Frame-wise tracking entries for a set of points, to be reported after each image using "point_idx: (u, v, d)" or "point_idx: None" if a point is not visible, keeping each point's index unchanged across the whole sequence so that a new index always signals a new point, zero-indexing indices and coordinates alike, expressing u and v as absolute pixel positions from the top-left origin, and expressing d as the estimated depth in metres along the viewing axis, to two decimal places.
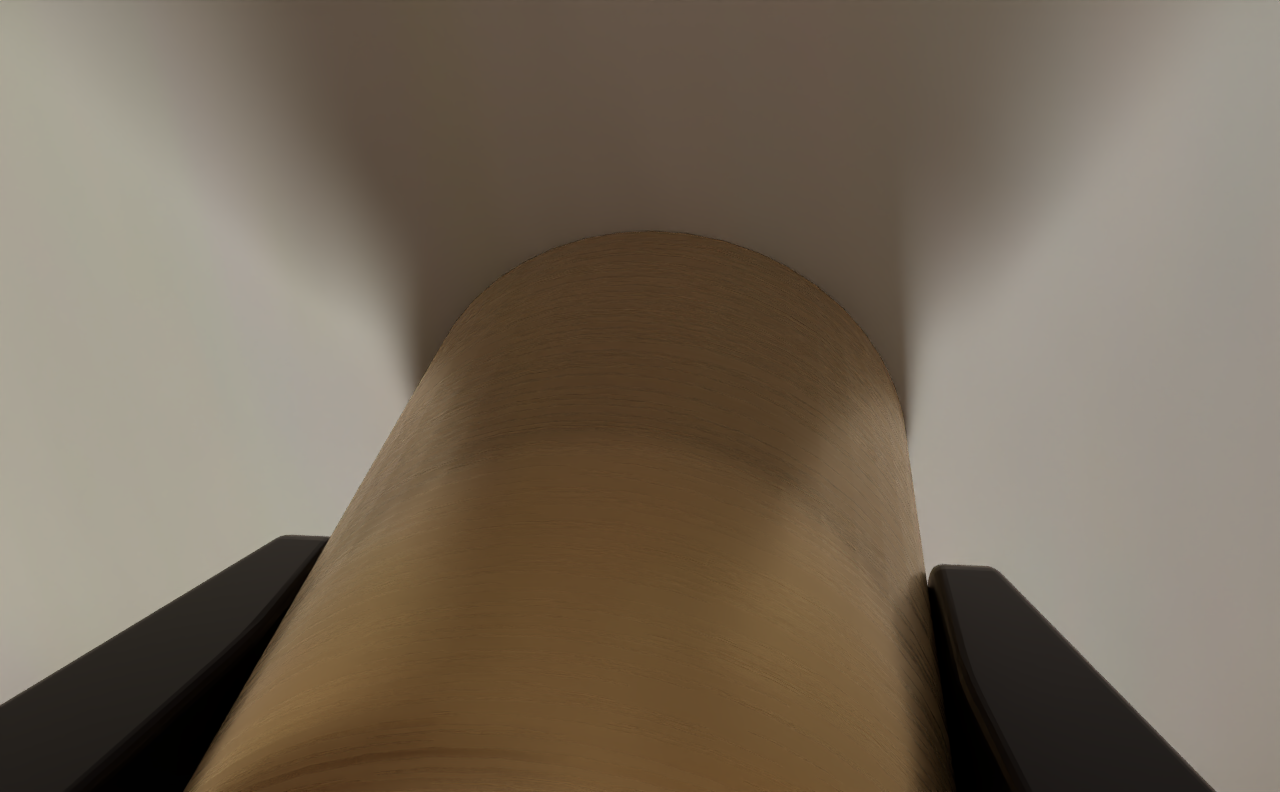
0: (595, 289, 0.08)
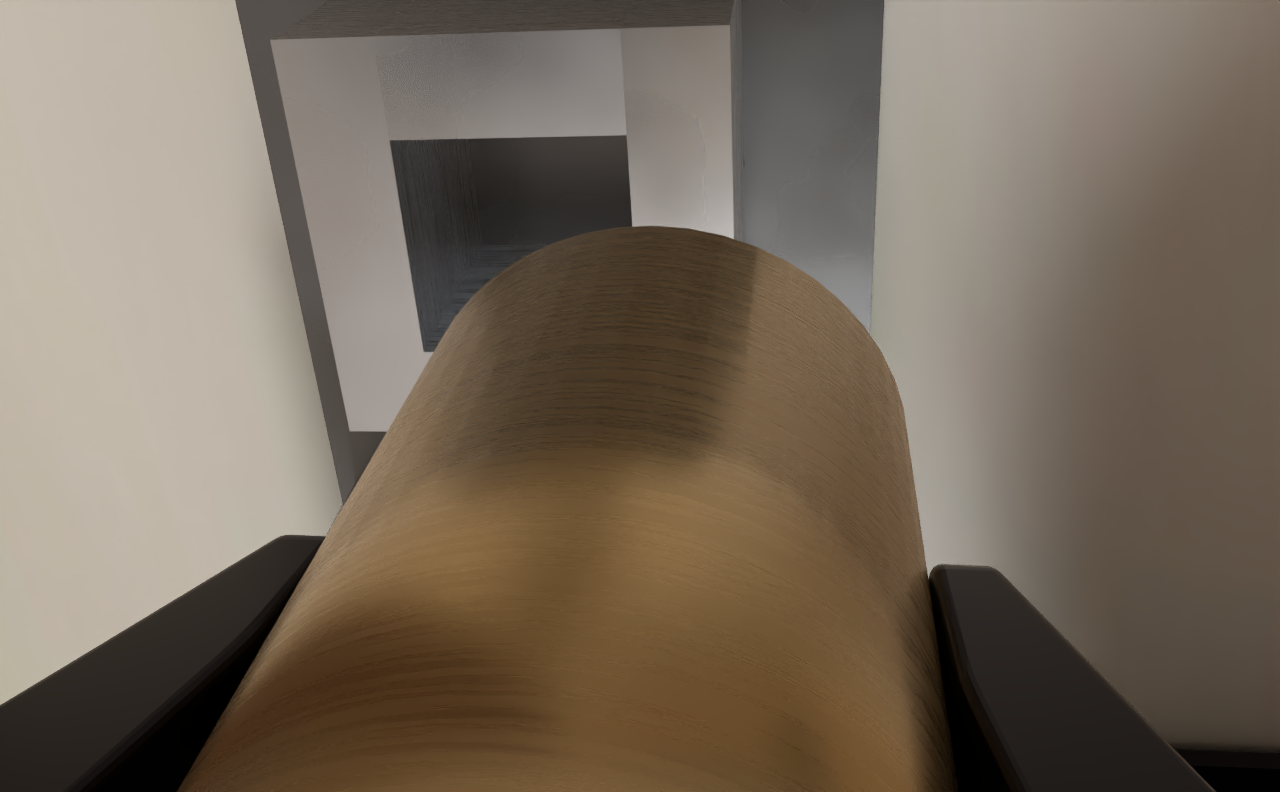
0: (593, 284, 0.08)
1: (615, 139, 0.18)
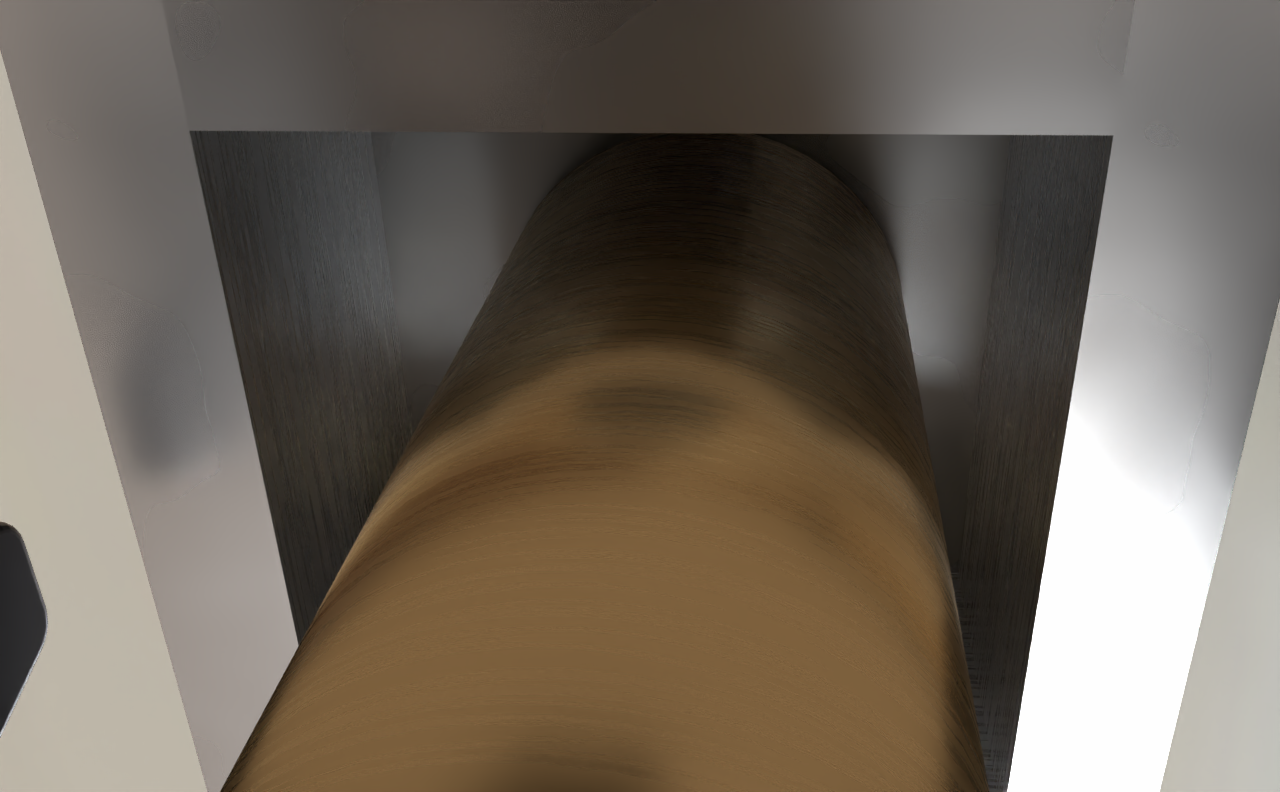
0: (658, 165, 0.11)
1: None
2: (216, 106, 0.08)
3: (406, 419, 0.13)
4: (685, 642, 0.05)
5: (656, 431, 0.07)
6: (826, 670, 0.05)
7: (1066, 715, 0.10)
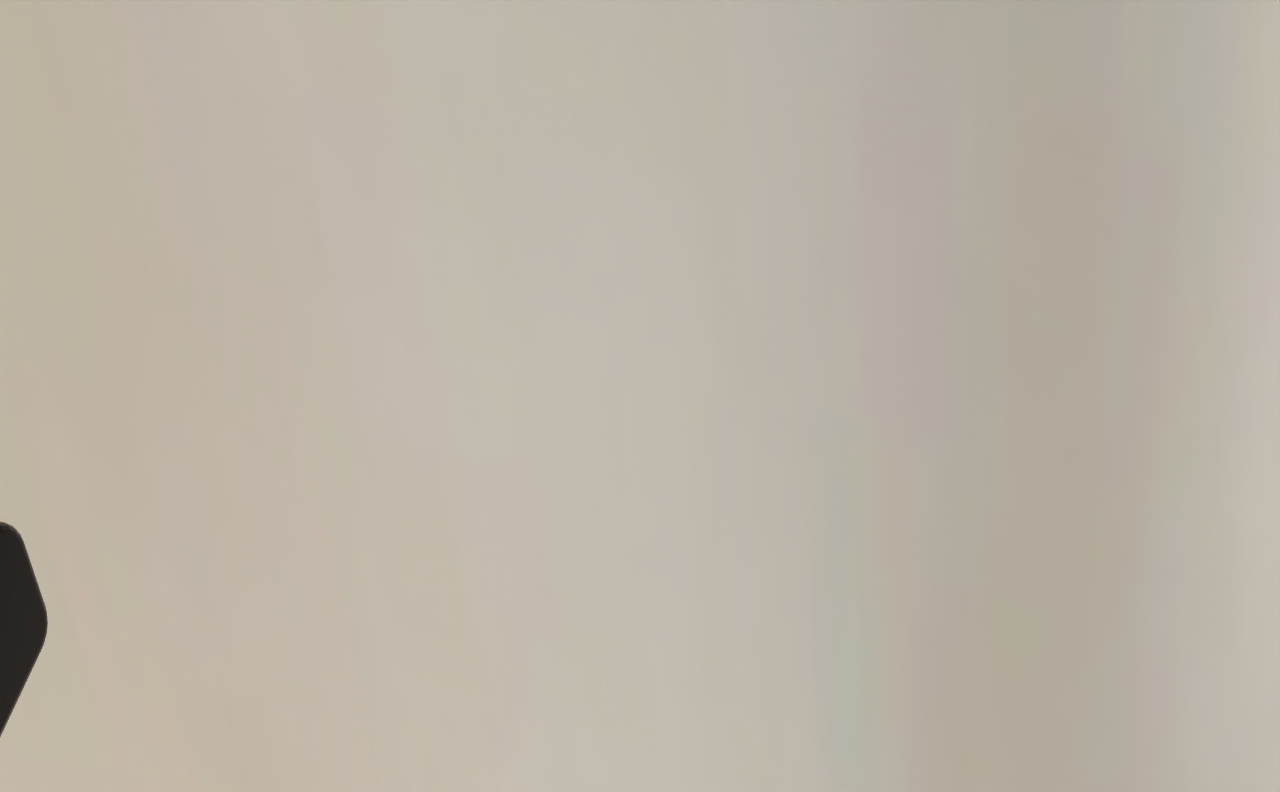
0: None
1: None
2: None
3: None
4: None
5: None
6: None
7: None
